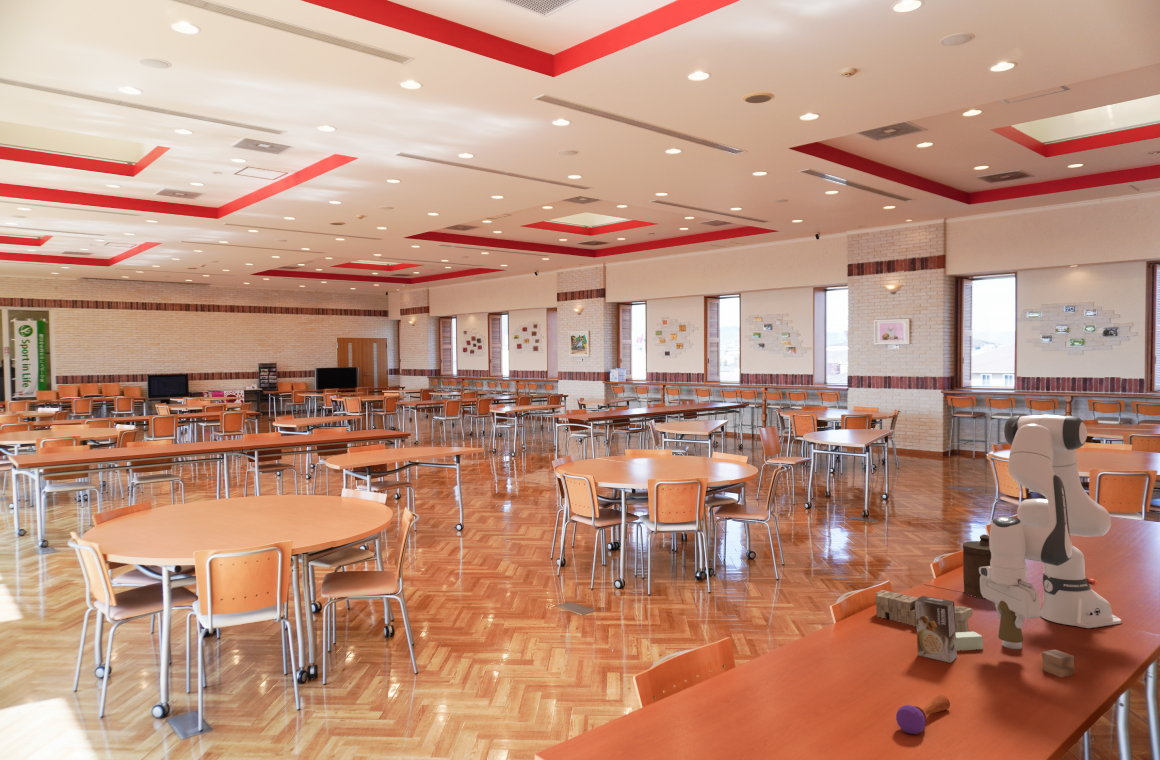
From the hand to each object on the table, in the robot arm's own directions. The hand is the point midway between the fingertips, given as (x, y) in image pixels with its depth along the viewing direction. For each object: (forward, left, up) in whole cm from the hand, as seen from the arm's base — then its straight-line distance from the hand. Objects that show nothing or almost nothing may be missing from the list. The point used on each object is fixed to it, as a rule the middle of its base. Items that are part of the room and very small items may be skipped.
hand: (1010, 623), depth 196 cm
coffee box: (+19, -5, -10) cm, 22 cm away
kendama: (+45, +31, -10) cm, 56 cm away
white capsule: (-7, -9, -10) cm, 15 cm away
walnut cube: (-6, +10, -10) cm, 15 cm away
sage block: (+7, -10, -10) cm, 16 cm away
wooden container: (-33, -57, -10) cm, 66 cm away
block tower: (+9, -31, -11) cm, 34 cm away
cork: (0, 0, -5) cm, 5 cm away
